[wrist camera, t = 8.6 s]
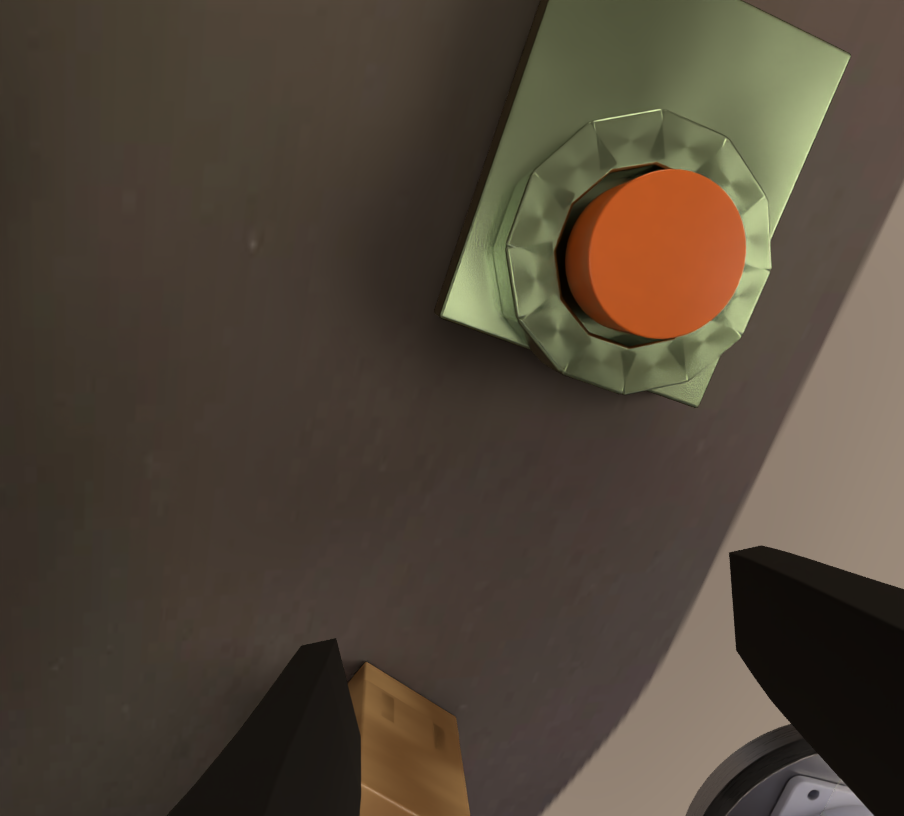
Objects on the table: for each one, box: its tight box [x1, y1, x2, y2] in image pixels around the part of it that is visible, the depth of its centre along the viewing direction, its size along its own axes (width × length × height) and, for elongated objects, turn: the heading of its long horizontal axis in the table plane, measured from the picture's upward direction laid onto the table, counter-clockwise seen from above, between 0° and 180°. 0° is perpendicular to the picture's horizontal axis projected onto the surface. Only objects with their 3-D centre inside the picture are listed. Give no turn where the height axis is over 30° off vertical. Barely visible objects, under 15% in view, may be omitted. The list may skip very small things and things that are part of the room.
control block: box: [434, 0, 851, 408], centre depth 16 cm, size 10×8×4 cm
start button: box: [565, 169, 746, 339], centre depth 14 cm, size 4×4×2 cm
